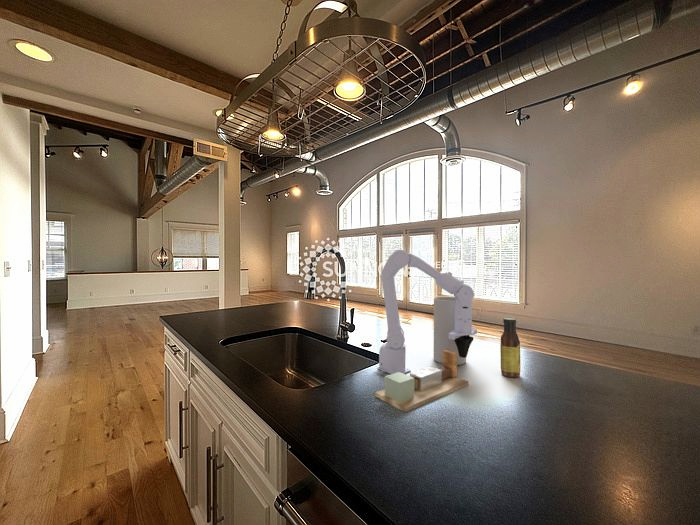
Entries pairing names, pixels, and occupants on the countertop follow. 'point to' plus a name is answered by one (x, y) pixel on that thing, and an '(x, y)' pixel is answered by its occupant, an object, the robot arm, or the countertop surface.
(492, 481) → the countertop surface
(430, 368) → the metal sleeve
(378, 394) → the base board
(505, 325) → the sauce bottle
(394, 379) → the pale green block
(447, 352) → the brown piece
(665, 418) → the countertop surface
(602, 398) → the countertop surface
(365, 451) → the countertop surface
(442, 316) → the cylinder vase
